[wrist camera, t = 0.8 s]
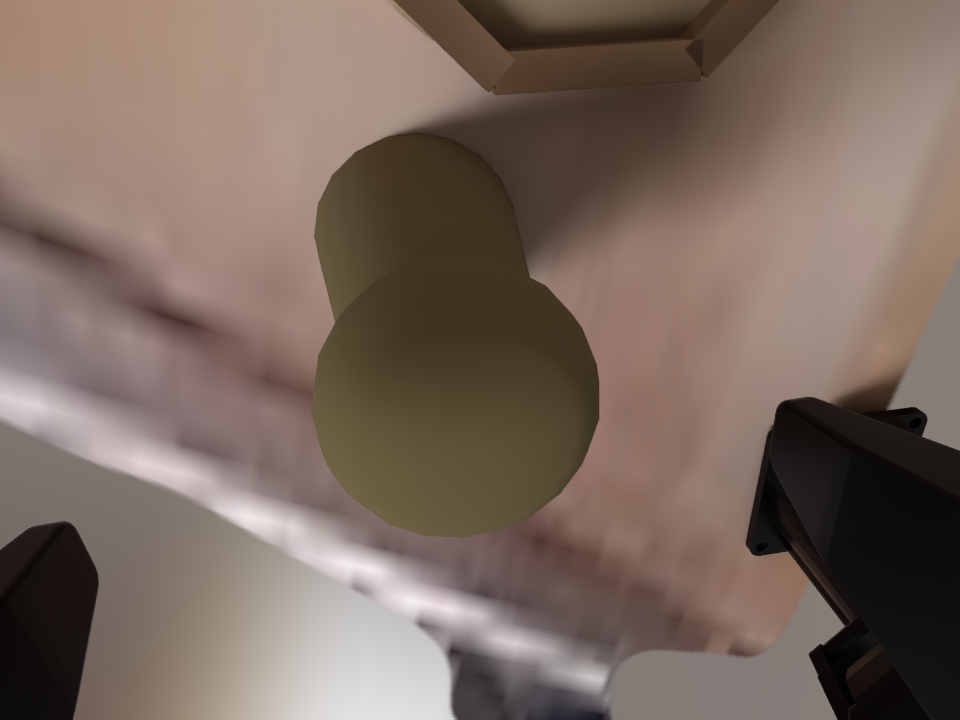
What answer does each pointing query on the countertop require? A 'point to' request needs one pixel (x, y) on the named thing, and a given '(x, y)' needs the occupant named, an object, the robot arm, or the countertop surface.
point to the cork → (443, 346)
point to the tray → (584, 39)
